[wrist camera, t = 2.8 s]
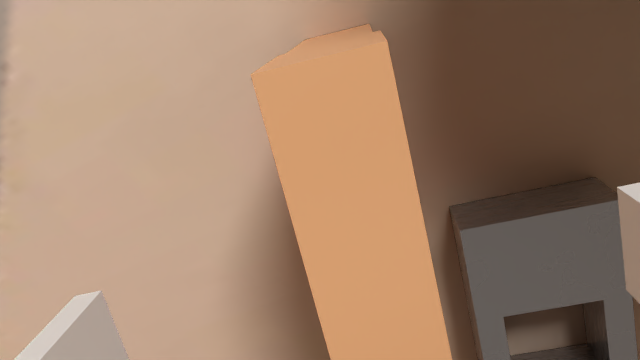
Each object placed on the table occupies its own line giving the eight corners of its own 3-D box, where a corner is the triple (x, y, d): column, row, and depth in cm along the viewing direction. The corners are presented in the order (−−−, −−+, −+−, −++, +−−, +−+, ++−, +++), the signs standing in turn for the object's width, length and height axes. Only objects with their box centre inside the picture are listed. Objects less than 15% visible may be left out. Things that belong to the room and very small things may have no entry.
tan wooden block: (300, 40, 25) (250, 74, 14) (374, 22, 25) (387, 40, 13) (352, 252, 28) (348, 422, 17) (419, 240, 28) (461, 405, 16)
